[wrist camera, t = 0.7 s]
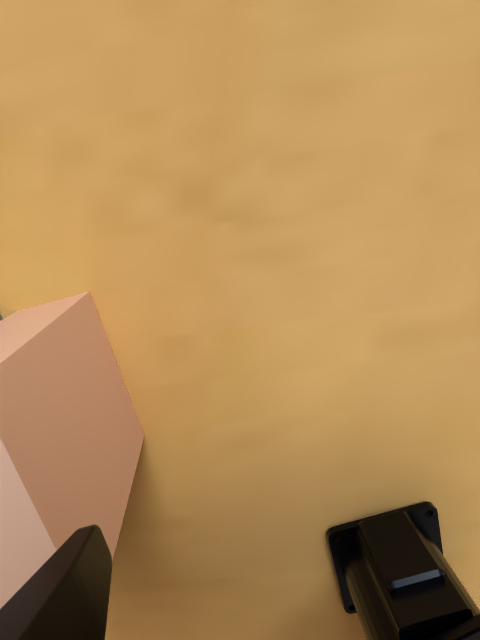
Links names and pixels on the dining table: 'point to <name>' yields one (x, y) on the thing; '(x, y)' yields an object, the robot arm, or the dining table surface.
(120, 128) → the dining table surface
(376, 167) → the dining table surface
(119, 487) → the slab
